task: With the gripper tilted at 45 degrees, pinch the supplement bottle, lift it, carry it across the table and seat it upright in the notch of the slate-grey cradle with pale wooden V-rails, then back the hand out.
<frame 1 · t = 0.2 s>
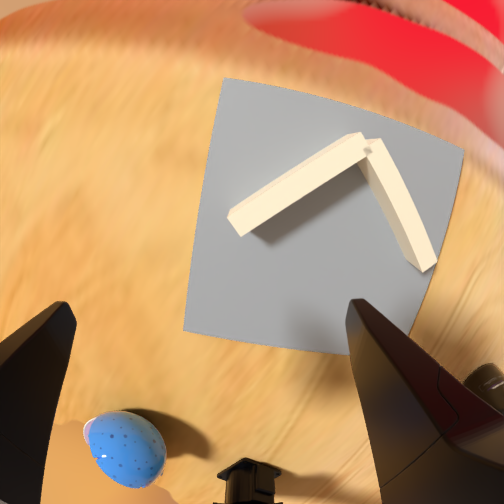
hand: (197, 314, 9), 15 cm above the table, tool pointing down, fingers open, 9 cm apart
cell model: (132, 422, 31), on the table
v cradle: (327, 234, 24), on the table
supplement bottle: (476, 381, 30), on the table
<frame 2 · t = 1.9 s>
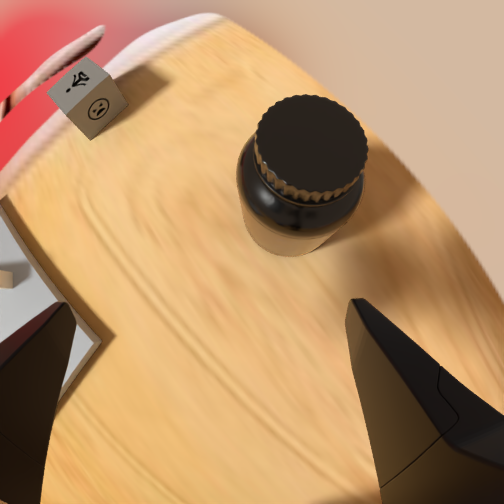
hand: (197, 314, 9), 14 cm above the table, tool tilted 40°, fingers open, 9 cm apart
dice cube: (98, 112, 26), on the table
supplement bottle: (287, 215, 24), on the table
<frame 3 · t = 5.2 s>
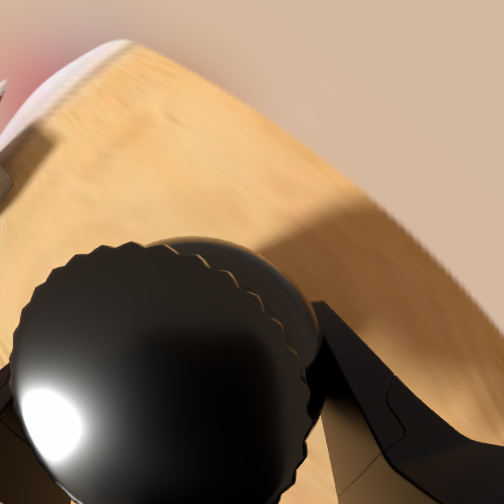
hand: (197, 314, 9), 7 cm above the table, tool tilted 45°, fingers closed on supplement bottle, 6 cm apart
supplement bottle: (225, 345, 15), on the table, touching gripper
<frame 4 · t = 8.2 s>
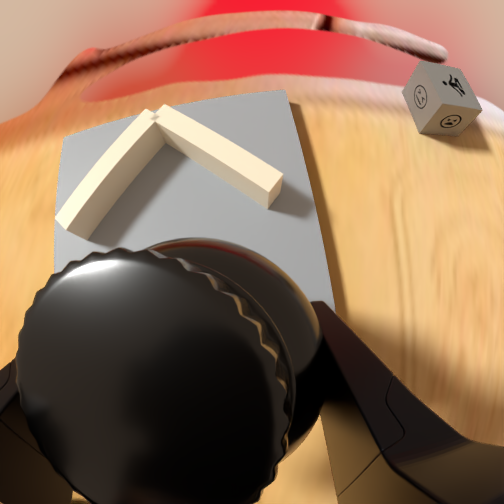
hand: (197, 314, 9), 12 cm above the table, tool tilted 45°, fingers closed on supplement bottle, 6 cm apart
v cradle: (175, 226, 22), on the table
dice cube: (429, 115, 25), on the table
supplement bottle: (238, 341, 16), point 5 cm above the table, touching gripper
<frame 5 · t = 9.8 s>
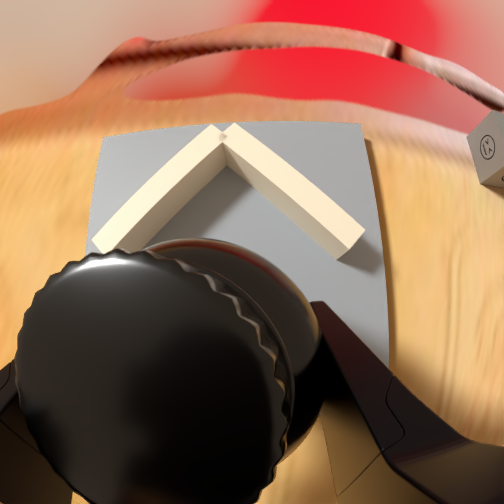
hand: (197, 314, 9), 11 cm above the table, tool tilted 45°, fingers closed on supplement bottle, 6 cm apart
v cradle: (229, 262, 21), on the table
dice cube: (489, 164, 22), on the table
supplement bottle: (238, 342, 16), point 4 cm above the table, touching gripper
when the fingers open (9 cm above the table, at t = 11.4 s): supplement bottle stays where it is, resting on v cradle.
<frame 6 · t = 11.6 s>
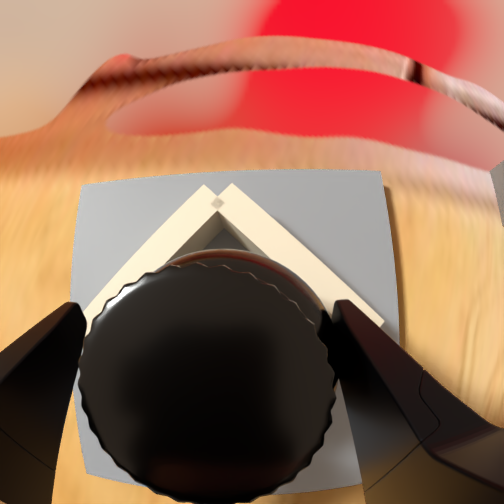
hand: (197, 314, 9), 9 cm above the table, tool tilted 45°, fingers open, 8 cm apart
v cradle: (228, 339, 18), on the table
supplement bottle: (239, 342, 17), point 1 cm above the table, touching gripper, v cradle
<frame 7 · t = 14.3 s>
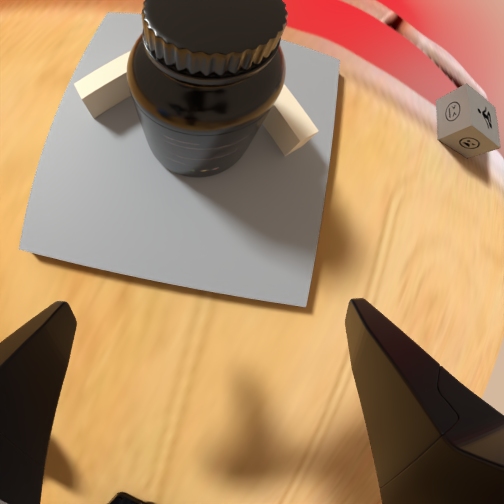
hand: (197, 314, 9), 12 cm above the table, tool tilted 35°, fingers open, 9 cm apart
v cradle: (187, 136, 20), on the table
dice cube: (451, 129, 26), on the table
supplement bottle: (198, 132, 19), point 1 cm above the table, touching v cradle
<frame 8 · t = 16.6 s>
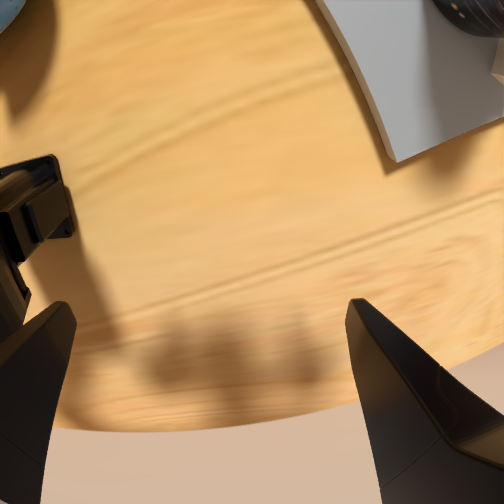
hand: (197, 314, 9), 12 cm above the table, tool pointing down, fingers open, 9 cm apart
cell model: (5, 1, 10), on the table
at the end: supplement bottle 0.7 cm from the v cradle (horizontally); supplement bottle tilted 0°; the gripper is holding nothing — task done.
